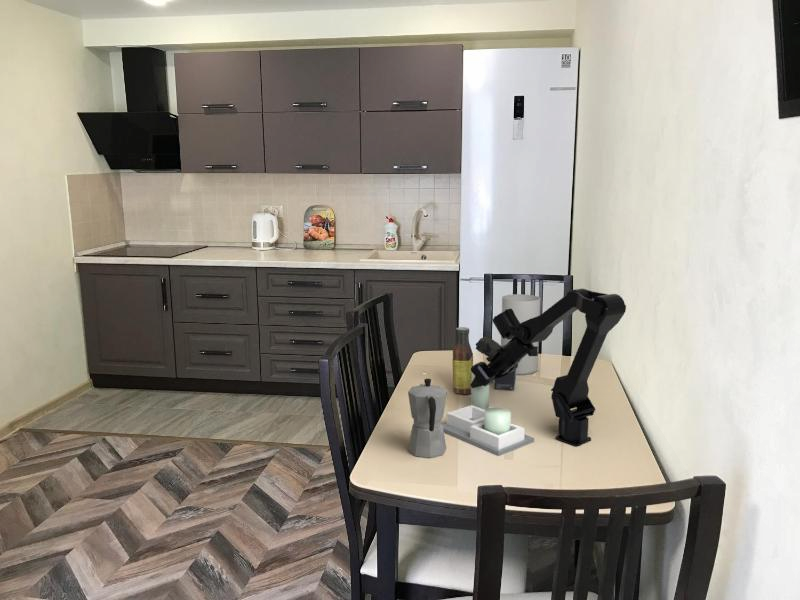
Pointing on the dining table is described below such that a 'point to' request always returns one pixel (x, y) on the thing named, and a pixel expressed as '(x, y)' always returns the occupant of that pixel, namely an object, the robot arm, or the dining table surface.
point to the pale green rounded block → (480, 396)
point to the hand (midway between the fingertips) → (476, 384)
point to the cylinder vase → (523, 310)
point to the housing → (486, 429)
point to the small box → (506, 381)
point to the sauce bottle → (462, 362)
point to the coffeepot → (427, 420)
